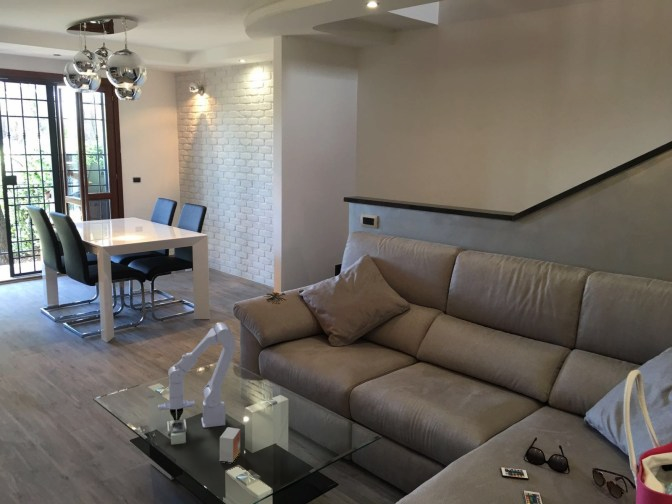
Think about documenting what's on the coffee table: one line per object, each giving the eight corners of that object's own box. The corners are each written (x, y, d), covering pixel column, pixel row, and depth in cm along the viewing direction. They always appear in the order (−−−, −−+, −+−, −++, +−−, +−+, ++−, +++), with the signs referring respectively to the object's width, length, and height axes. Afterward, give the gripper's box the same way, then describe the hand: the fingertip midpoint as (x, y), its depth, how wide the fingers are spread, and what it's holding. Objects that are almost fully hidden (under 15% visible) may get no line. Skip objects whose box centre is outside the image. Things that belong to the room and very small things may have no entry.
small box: (233, 464, 214) (233, 439, 212) (219, 462, 215) (219, 437, 213) (240, 452, 222) (240, 428, 219) (227, 450, 223) (227, 426, 220)
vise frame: (185, 422, 242) (185, 413, 241) (188, 442, 227) (187, 433, 226) (167, 424, 239) (167, 415, 238) (168, 444, 224) (168, 435, 223)
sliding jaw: (183, 427, 237) (183, 419, 236) (184, 432, 234) (184, 423, 233) (169, 429, 235) (169, 420, 234) (170, 434, 232) (170, 425, 231)
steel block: (182, 433, 233) (182, 422, 232) (183, 440, 228) (183, 429, 227) (172, 434, 232) (172, 423, 231) (173, 442, 227) (173, 430, 226)
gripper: (193, 388, 240) (193, 417, 243) (157, 391, 235) (158, 421, 239) (194, 396, 234) (194, 425, 237) (158, 399, 229) (158, 429, 232)
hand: (176, 423), depth 237 cm, fingers closed, pressing on sliding jaw
